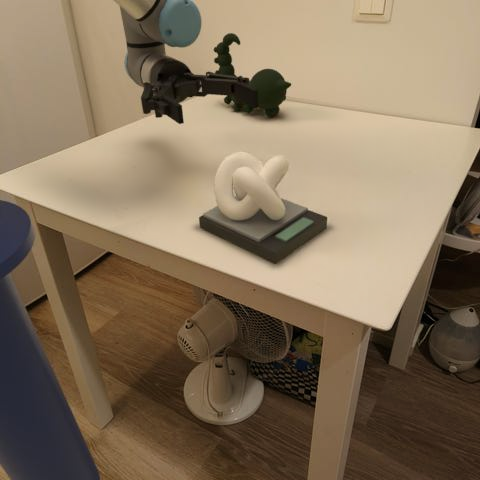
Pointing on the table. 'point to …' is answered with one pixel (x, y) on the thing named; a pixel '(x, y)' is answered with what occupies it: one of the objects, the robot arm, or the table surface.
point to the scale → (266, 230)
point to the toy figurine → (253, 81)
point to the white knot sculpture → (250, 186)
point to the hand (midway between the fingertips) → (219, 106)
